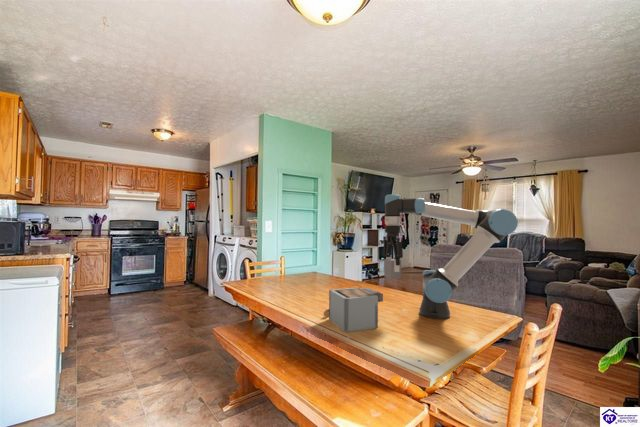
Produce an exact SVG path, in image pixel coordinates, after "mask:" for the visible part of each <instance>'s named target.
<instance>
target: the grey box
mask: <svg viewBox="0 0 640 427" xmlns="http://www.w3.org/2000/svg"><path fill="white" fill-rule="evenodd" d="M350 289H361V288H360V287H347V288H337V289H336V288H335V289H333V288H332V289H329V291H328V292H329V294H328V295H329V296H328V297H329V298H328V300H329V301H328V308H329V309H328V312H329V313H328V315H329V316H328V320H330V321H331V322H332V323H333V324H334V325H335V326H337V327H338V328H339V329H341V330H342V331H343V332H344V333H348V332H357V331H365V330H372V329H377V328H379V323H378V322H379V316H378V315H379V302H378V296H377V295H373V296H362V297H351V298H347V297H346V296H344V295H342V294H340V293H338V290H350Z"/></svg>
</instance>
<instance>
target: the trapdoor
mask: <svg viewBox="0 0 640 427" xmlns="http://www.w3.org/2000/svg"><path fill="white" fill-rule="evenodd" d="M338 293H340V294H342V295H344V296H346V297H347V298H351V297H362V296H373V295H377V296H378V303H379V302H384V293H381V292H379V291H377V290H375V289H372V288H369V287H366V288H360V289H350V290H338Z"/></svg>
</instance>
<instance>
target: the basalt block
mask: <svg viewBox="0 0 640 427" xmlns="http://www.w3.org/2000/svg"><path fill="white" fill-rule="evenodd" d="M383 265H384V267H383V268H384V270H383V271H384V273H383V274H384V276H383V277H384V278H387V279H390V280H396V279H397V280H398V279H402V259H400V265H399V272H394V258H392V259H386V258H384V259H383Z"/></svg>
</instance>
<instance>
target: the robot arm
mask: <svg viewBox="0 0 640 427" xmlns="http://www.w3.org/2000/svg"><path fill="white" fill-rule="evenodd" d="M401 214H409V215H416V216H422V217H426V218H433V219H437V220H440V221H441V220H442V221H448V222H452V223H457V224H463V225H467V226H471V228H472V229H473V228H474V229H477V230H476V232H475V233H474V234H473V235H472V236H471V237H470V239H469V240H468V241H467V242H466V243H465V244H464V245H463V246H462V247H461V248H460V249H459V250H458V252H456V253H455V255H454V256H453V257H452V258H451V259H450V260H449V261H448V262H447V263H446V264H445V266H444V267H443V268H437V269H436V270H433V269H432V270H431V269H429V270H428V269H425V270H423V271H422V300H421V304H420V307H419V310H418V311H419V314H420V315H421V316H423V317H426V318H430V319H442V320H443V319H447V318H450V317H451V310H450V308H449V307H450V306H449V304H448V301H449V300H450V299H451V297H452V294H453V292H454V291H455V290H456V289H457V287H459V281H460V279H461V278H462V277H463V276H464V275H465V274H466V273H467V272H468V271H469V270H470V269H471V268H472V267H473V265H475V264H476V262H477V261H478V260H479V259H480V258H481V257H482V256H483V255H484V254H485V253H486V252H487V251H489V249H490V248H491V247H492V246H493V245H494V244H495V243H496V244H497V243H501V241H502V240H504V238H506V237H507V236H508V235H511V234H513V233H514V232H515V231H516V229H517V227H518V224H519V222H518V218H517V216H516V214H515V213H514V212H512V211H511V210H509V209H505V208H497V209H492V210H490V209H489V210H486V209H475V210H471V209H464V208H460V207H454V206H448V205H443V204H438V203H431V202H426V200H425V198H423V197H413V198H412V197H411V198H409V197H407V198H401V196H400V194H393V193H392V194H391V193H390V194H386V195H385V196H384V224H385V225H384V233H386V236H383V237H382V239H383V251H382V254H383V256H385V259H394V272H399V265H400V260H401V259H403V257H404V252H403V239H404V238H403V237H401V236H399V234H400V233H401V226H400V225H401ZM392 249H393V254H394V258H393V257H392Z"/></svg>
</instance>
